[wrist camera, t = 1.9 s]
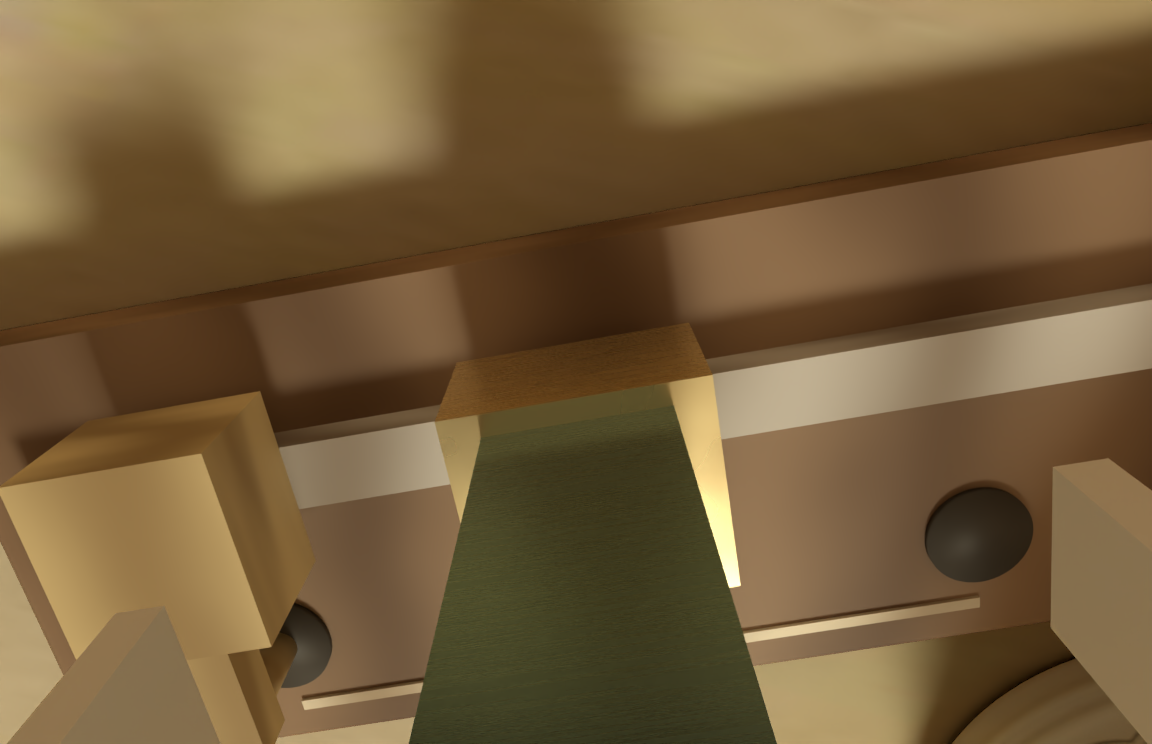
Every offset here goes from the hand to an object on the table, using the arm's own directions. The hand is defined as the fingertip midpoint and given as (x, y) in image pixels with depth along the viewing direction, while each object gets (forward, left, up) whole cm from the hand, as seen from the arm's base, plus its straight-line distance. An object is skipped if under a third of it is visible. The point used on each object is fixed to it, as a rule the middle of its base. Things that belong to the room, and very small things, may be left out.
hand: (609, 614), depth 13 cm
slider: (0, -2, -7) cm, 7 cm away
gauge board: (0, -2, -10) cm, 10 cm away
